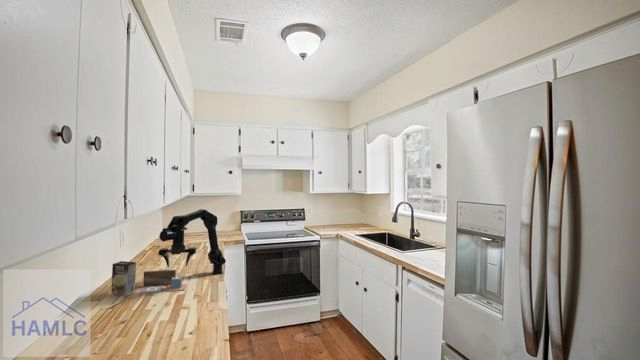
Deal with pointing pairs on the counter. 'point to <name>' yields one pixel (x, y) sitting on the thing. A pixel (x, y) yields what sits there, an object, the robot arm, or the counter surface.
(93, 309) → the counter surface
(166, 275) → the walnut screen
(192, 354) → the counter surface
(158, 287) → the grey pad
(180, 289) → the terracotta pad
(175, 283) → the letter cube
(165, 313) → the counter surface
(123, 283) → the coffee box
